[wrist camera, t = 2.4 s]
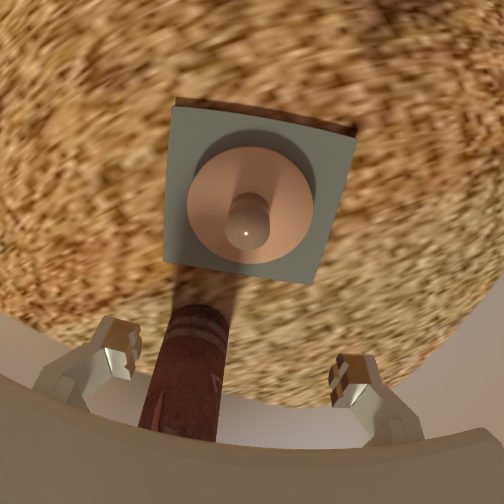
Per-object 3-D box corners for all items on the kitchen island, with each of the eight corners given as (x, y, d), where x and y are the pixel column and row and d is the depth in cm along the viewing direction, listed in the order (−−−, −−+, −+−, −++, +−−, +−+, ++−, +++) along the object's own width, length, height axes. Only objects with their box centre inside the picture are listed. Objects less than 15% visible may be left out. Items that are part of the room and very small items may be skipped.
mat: (174, 105, 19) (172, 106, 19) (355, 137, 20) (357, 139, 19) (165, 257, 26) (163, 261, 26) (310, 281, 27) (311, 285, 26)
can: (208, 292, 28) (179, 432, 16) (239, 335, 31) (228, 462, 19) (158, 310, 30) (116, 433, 18) (191, 348, 33) (167, 463, 21)
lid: (196, 136, 20) (180, 150, 16) (323, 157, 20) (336, 176, 17) (187, 246, 25) (174, 277, 21) (296, 263, 25) (300, 295, 22)
